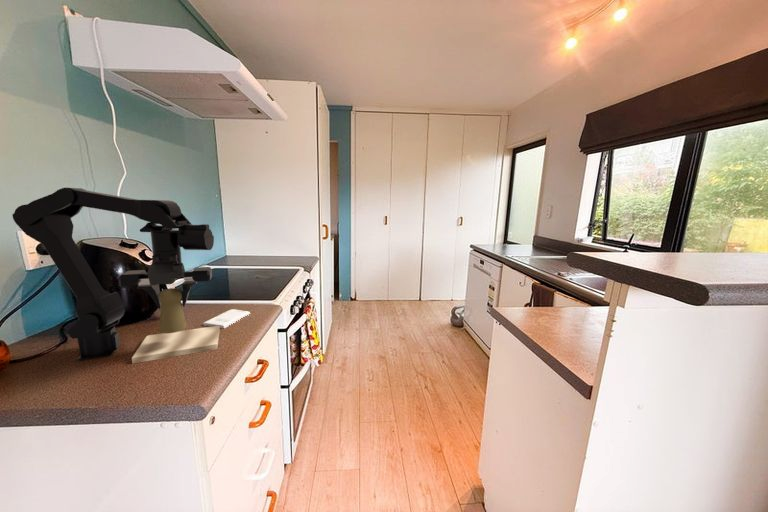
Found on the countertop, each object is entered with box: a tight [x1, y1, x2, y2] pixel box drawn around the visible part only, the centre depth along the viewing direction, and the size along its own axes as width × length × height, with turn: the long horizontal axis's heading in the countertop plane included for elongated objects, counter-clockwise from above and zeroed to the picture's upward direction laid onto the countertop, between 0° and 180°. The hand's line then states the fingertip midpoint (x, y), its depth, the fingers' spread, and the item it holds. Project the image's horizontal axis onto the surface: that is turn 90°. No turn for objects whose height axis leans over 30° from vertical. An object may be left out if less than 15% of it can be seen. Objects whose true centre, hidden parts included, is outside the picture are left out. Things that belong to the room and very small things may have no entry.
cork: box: [158, 287, 187, 334], centre depth 74 cm, size 6×6×11 cm
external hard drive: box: [202, 308, 251, 329], centre depth 96 cm, size 2×8×12 cm
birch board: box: [131, 326, 221, 364], centre depth 78 cm, size 18×13×2 cm
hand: (172, 307), depth 74 cm, fingers closed on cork, 5 cm apart
